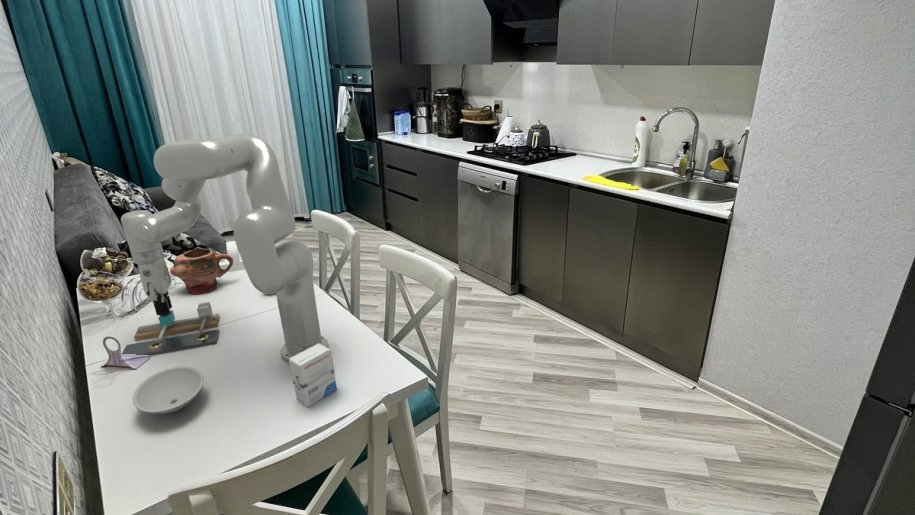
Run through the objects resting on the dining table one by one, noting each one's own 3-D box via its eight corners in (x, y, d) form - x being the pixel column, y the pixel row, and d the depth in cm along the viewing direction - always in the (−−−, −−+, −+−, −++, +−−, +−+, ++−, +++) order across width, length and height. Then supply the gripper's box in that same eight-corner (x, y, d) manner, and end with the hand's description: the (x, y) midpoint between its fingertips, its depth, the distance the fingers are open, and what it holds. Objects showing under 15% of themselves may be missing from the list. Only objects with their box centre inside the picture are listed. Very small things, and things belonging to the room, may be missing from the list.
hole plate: (216, 343, 134) (215, 340, 134) (120, 361, 128) (118, 357, 127) (219, 331, 141) (218, 328, 140) (127, 347, 134) (126, 344, 133)
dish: (138, 395, 114) (133, 378, 112) (204, 375, 121) (199, 358, 119) (138, 440, 100) (131, 421, 98) (212, 414, 107) (207, 396, 105)
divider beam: (214, 339, 137) (209, 319, 135) (127, 354, 131) (121, 334, 128) (220, 317, 149) (215, 299, 146) (140, 330, 142) (134, 312, 140)
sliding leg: (166, 341, 133) (158, 314, 130) (154, 343, 132) (146, 316, 129) (175, 321, 144) (168, 295, 140) (164, 323, 143) (157, 297, 139)
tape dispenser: (261, 267, 187) (256, 241, 183) (211, 275, 180) (205, 249, 176) (260, 259, 195) (255, 234, 191) (212, 266, 189) (206, 241, 185)
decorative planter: (235, 275, 179) (228, 241, 174) (239, 287, 169) (231, 251, 164) (176, 288, 170) (166, 252, 165) (176, 301, 160) (166, 264, 155)
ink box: (325, 381, 117) (319, 341, 113) (337, 389, 114) (331, 348, 110) (295, 399, 111) (287, 357, 106) (307, 408, 108) (299, 365, 104)
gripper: (155, 262, 127) (173, 322, 134) (169, 243, 141) (184, 297, 148) (123, 266, 125) (143, 326, 131) (140, 246, 139) (157, 301, 146)
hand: (164, 310), depth 140 cm, fingers closed on sliding leg, 2 cm apart
